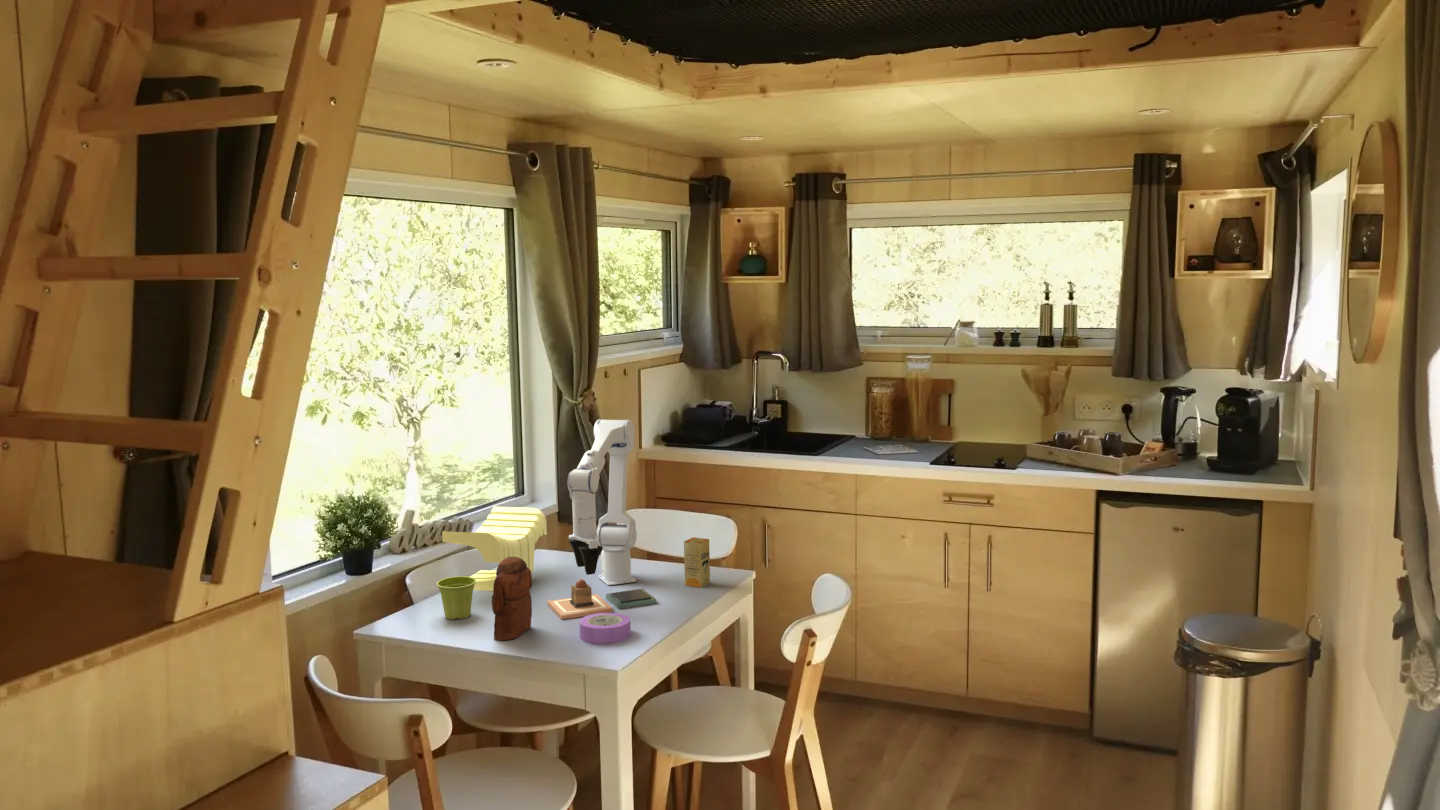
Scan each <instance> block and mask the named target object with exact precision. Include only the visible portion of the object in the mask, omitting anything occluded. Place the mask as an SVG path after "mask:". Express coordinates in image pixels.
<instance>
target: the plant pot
mask: <svg viewBox="0 0 1440 810" xmlns="http://www.w3.org/2000/svg"><path fill="white" fill-rule="evenodd" d="M475 583H476V579H475V578H472V577H470V576H468V575H467V576H457V575H456V576H449V577H446V578H443V579H442V578H441V579H440V580H438V581H437V582H436V586H437V587H438V590H439V592H440V594H441V601H442V607H443V612H444V616H445V618H446V619H448V620H455V619H459V620H463V619H466V618H468V617H470V616H471V613H472V602H473V593H474V590H473V589H474V585H475Z"/></svg>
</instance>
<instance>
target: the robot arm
mask: <svg viewBox="0 0 1440 810" xmlns="http://www.w3.org/2000/svg"><path fill="white" fill-rule="evenodd" d="M633 422H634V421H633ZM633 422H632V420H631V419H601V418H599V419H597V420H596V421H595V423H594V426H593V437H594V442H593V444H592V446H591V449H590V450H589V449H588V450H587V451H586V452H584V453H583V456H582V458H581V460H580V462H579V463H578V465H577V467H576V468H574V469H572V470H571V471H570V472H569V473H568V476H567V483H566V484H567V489H568V492H569V498H570V500H571V501H572V502H571V506H572V534H569V535H568V543H569V545H570V546H571V548H572V551H573V554H574V558H575V562H576V565H577V566H576V567H578V568H581V567H582V568H584V572H585V574H586V575H587V576H588V575H595V574H596V572H597V566H598V560H599V558H600V574H598V575H597V578H599V580H601V581H603V582H604V583H605V584H606V585H607V586H614V585H622V584H628V583H635V582H636V583H637V579H635V578H634V577H633V576H632V565H631V563H632V562H631V549H632V548H634V546H635V545H636V542H637V526H636V520H635V518H633V517H632V516H631V515H630V514H629V513H627V511H626V510H627V491H628V489H627V488H628V487H627V486H628V485H627V484H628V466H629V464H628V463H629V462H628V461H629V453H630V452H631V451H633V450H634V449H635V439H636V438H635V437H636V436H635V435H636V433H635V432H636V428H635V425H634V423H633ZM607 453H609V472H608V473H609V475H608V477H609V478H608V501H607V513H605V514H604V515H603V516H601V517H600V518H599V519H598V525H597V511H596V509H597V508H596V507H597V506H596V492H597V490H598V489H599V481H600V473H602V471H603V468H604V466H605V464H606V458H605V456H606V454H607ZM610 523H611V524H610ZM612 523H614V524H612Z"/></svg>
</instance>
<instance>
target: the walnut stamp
mask: <svg viewBox="0 0 1440 810" xmlns="http://www.w3.org/2000/svg"><path fill="white" fill-rule="evenodd" d="M570 587H571V588H570V589H571V590H570V591H571V595H570V596H571V597H570V598H572V600H570V603H571V604H572V605H573V606H574V607H575V608H579V607H586V606H593V602H592V595H593V594H592V593H593V592H592V586H590V585H589V584H588V583H587V582H586V581H585V580H584V579H578V580H577V581H575V584H574V585H570Z"/></svg>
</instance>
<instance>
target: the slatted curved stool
mask: <svg viewBox="0 0 1440 810" xmlns="http://www.w3.org/2000/svg"><path fill="white" fill-rule="evenodd" d="M547 534H548V532H547V518H546V516H545V514H544V512H543V511H542V510H541V509H538V508H535V507H521V506H519V507H517V506H493V507H492V509H491V510H490V513H489V514H488V515H487V517H486V520H484V521H483V523H482V524H481V526H479V527H478V528H477V529H476V530H475V531H474V532H470V531H469V532H467V531H446V530H445V531H444V530H442V531H441V537H442V539H441V540H442V543H450V544H456V545H462V546H470V547H473V548H474V549H476V550H478V552H479V553H480V554H481V555H482V558H483V561H484V562H485V563H498V564H499V563H500V562H501V561H502V560H503V559H505V558H507V557H519V558H521V559H522V560H524V561H525V562H526V565H527V567H528V568H529V569H530V571H531V574H532V575H533V572H534V570H535V569H534V567H535V565H534V562H535V551H536V546H535V545H536V544H537V542H538V540H539V538H540V537H542V536H544V535H545V536H547ZM496 571H497V569H494V570H492V569H491V570H487V569H480V570H479V571H477V572H476V573H474V574H472V575H469V577H472V578H475V579H476V583H475V585H474V589H473V591H487V592H488V591H489V592H493V586H494V581H495V578H496V577H497V576H496Z"/></svg>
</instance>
